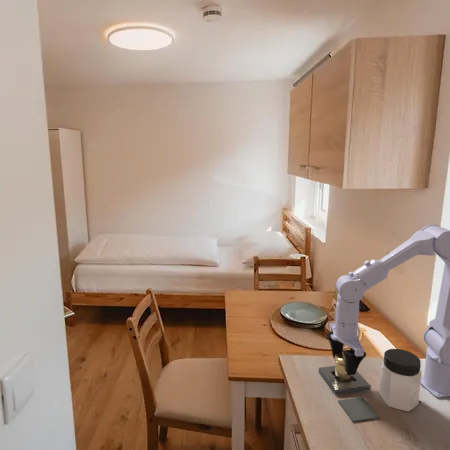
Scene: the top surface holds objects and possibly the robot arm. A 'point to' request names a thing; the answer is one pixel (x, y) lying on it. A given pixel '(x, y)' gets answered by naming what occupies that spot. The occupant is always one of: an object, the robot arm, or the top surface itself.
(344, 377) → the gold rounded piece
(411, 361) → the jar
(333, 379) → the housing
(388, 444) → the top surface
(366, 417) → the mat
